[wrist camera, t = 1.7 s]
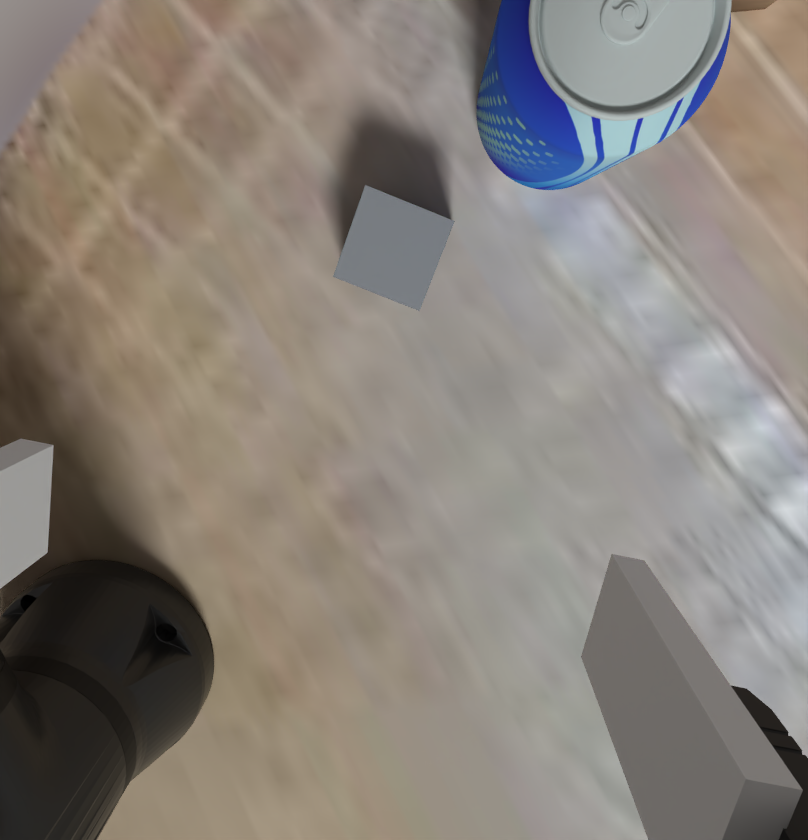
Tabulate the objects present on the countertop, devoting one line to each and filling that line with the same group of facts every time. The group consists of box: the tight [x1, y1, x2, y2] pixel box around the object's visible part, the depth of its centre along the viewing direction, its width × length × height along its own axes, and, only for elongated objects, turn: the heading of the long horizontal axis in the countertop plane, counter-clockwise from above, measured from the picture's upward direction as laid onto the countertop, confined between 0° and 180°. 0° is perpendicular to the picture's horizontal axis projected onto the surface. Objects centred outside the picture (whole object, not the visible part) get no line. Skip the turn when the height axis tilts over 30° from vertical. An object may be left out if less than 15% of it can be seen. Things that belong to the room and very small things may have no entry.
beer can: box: [477, 0, 732, 190], centre depth 29 cm, size 8×8×16 cm
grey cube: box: [333, 185, 454, 311], centre depth 37 cm, size 5×5×5 cm
